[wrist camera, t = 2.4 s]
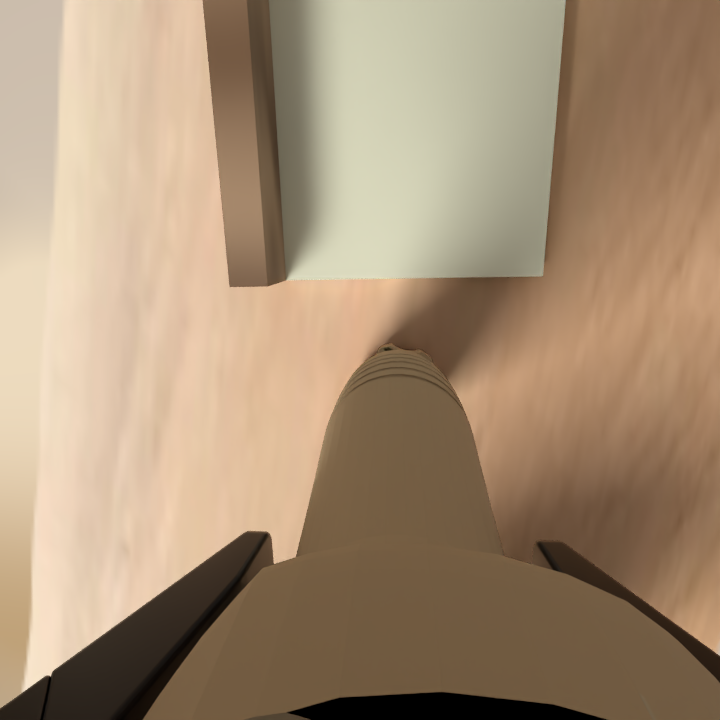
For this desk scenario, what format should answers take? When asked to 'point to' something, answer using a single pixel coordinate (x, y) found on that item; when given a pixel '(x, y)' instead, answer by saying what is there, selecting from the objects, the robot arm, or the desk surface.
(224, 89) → the walls
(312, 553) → the handle
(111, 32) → the desk surface
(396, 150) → the pad
